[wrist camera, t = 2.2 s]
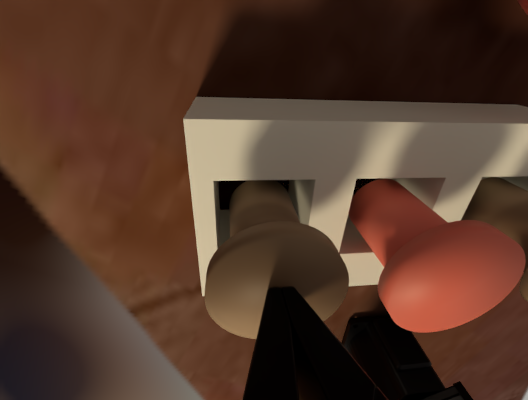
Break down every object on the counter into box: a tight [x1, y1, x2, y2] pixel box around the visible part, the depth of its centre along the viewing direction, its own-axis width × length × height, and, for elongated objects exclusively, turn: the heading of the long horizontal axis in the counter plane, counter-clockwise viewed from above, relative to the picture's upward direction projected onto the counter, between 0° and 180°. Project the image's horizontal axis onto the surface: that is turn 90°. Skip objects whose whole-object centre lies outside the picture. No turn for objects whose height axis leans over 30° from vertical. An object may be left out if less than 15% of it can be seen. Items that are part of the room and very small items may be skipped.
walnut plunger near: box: [205, 180, 349, 339], centre depth 11 cm, size 5×5×6 cm
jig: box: [183, 97, 528, 296], centre depth 15 cm, size 9×18×4 cm, turn 87°
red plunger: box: [349, 179, 526, 332], centre depth 11 cm, size 5×5×6 cm
